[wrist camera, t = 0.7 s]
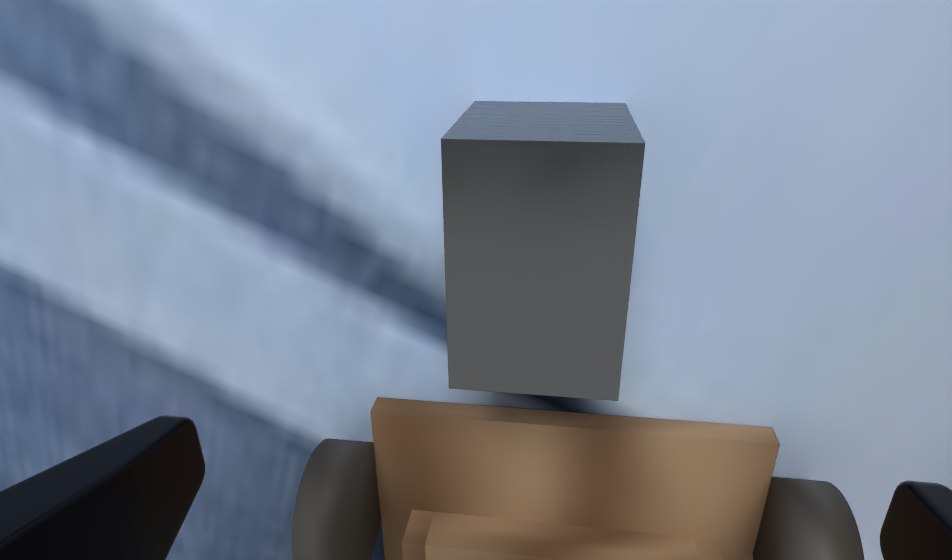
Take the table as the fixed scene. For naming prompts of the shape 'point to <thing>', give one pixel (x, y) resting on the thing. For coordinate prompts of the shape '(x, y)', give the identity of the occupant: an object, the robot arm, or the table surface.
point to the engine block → (540, 245)
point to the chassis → (561, 490)
